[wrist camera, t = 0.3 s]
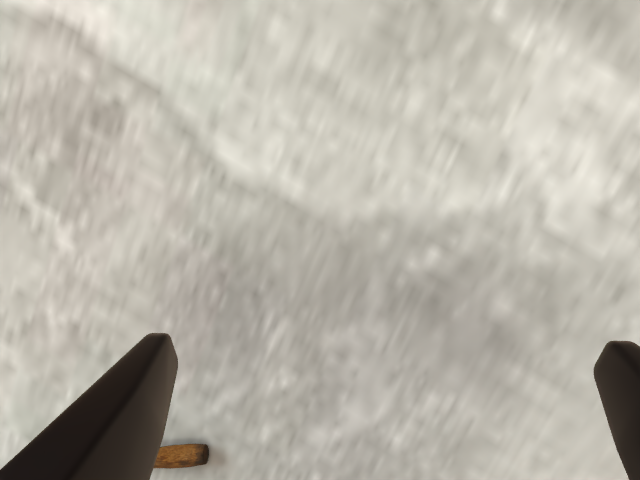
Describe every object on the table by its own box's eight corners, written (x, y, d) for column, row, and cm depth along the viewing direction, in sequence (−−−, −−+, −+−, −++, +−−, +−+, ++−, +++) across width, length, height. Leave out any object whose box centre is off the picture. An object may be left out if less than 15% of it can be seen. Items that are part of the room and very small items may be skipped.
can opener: (210, 439, 25) (203, 451, 24) (211, 478, 25) (204, 491, 24) (55, 434, 25) (41, 445, 24) (57, 472, 26) (44, 485, 25)
